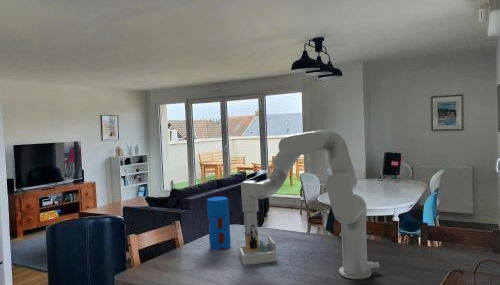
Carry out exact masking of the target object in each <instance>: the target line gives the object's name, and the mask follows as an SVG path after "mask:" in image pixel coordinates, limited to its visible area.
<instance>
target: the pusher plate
mask: <svg viewBox="0 0 500 285" xmlns="http://www.w3.org/2000/svg"><path fill="white" fill-rule="evenodd" d="M265 243H266V242H265V241H264V239H259V244H260V250H261V253H263V252H267V246H266V244H265Z"/></svg>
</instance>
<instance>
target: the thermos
mask: <svg viewBox="0 0 500 285" xmlns="http://www.w3.org/2000/svg"><path fill="white" fill-rule="evenodd" d="M206 205H207V206H206V208H207V221H208V223H207V226H208V237H209V238H208V239H209V240H208V241H209V249H210V250H212V251H224V250H228V249H230V248H231V226H230V225H231V224H230V211H229V210H230V209H229V198H228V196H227V197H226V196H213V197H209V198H207V200H206Z"/></svg>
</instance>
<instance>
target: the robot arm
mask: <svg viewBox="0 0 500 285" xmlns="http://www.w3.org/2000/svg"><path fill="white" fill-rule="evenodd" d="M324 151H325V152H327V156H328V163H329V167H330V172H331V173H330V174H328V176H327V179H326V183H325V186H326V189H325V190H326V192H327V196H328V200H329V204H330V207H331V211H332V214H333V216H334V218H335V220H336V221H337V222H338V223H340V224H341V226H340V227H341V228H340V230H341V251H342V255H341V256H342V266H341V267H340V268H339V271H338V272H339V274H340V276H342V277H343V278H347V279H351V280H365V279H368V278H370V277H371V276H372V274H373V272H372V271H373V270H372V269H375V268H376V269H378V268H380V263H379V262H374V261H373V260H371V261H368V249H367V248H368V247H367V246H368V243H367V213H368V212H367V204H366V201H365V200H364V198H363V197H362V196H361V195H359V194H355V193H354V191H353V190H354V189H355V188H356V187H357V184H358V183H357V182H358V180H357V176H356V173H355V172H356V171H355V170H354V165H353V162H352V159H351V156H350V152H349V149H348V145H347V143H346V141H345V138H343V137H342V136H341V134H339V133H338V132H336V131H333V130H330V129H329V130H328V129H319V130H313V131H307V132H303V133H297V134H296V133H295V134H289V135H285V136H283V137H282V138H281V139H280V140H279V143H278V152H277V154H276V155H275V157H274V158H273V160H272V164H273V166H274V168H273V170H272V171H271V173H270V175H269V176H268V177H267V179H265V180H261V181H258V182H257V181H256V180H252V179H251V180H242V181H241V184H240V191H241V192H240V193H241V196H240V197H241V210H242V213H244V214H243V224H244V225H243V226H244V227H243V229H244V233H245V232H246V233H247V234H250V240H249V241H250V249H256V248H257V240H256V233H257V231H258V215H257V212H259V210H260V209H259V200H262V199H263V200H264V199H266V198H268V197H270V196H273V195H275V194H277V192H278V191H279V190H280V188H282V186H283V185H284V183H285V181H286V180H287V178H288V175H289V173H290V171H291V169H292V167H294V165H295V164H296V162H297V161H298V160H299V158H300V157H301V156H302V155H303V156H304V155H310V154H311V155H312V154H315V153H321V152H324ZM251 232H252V233H251ZM251 235H252V236H251Z"/></svg>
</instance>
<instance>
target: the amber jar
mask: <svg viewBox="0 0 500 285" xmlns="http://www.w3.org/2000/svg"><path fill="white" fill-rule="evenodd" d="M251 233H252V232H251ZM251 236H252V235H251ZM244 238H245V239H244V240H245V241H244V242H245V245H246V250H247V251H256V250H258V249H259V244H260V241H259V231H258V230H257V233H256V240H257V248H256V249H250V241H249V240H250V234H247V233H246V232H245V231H244Z"/></svg>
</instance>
